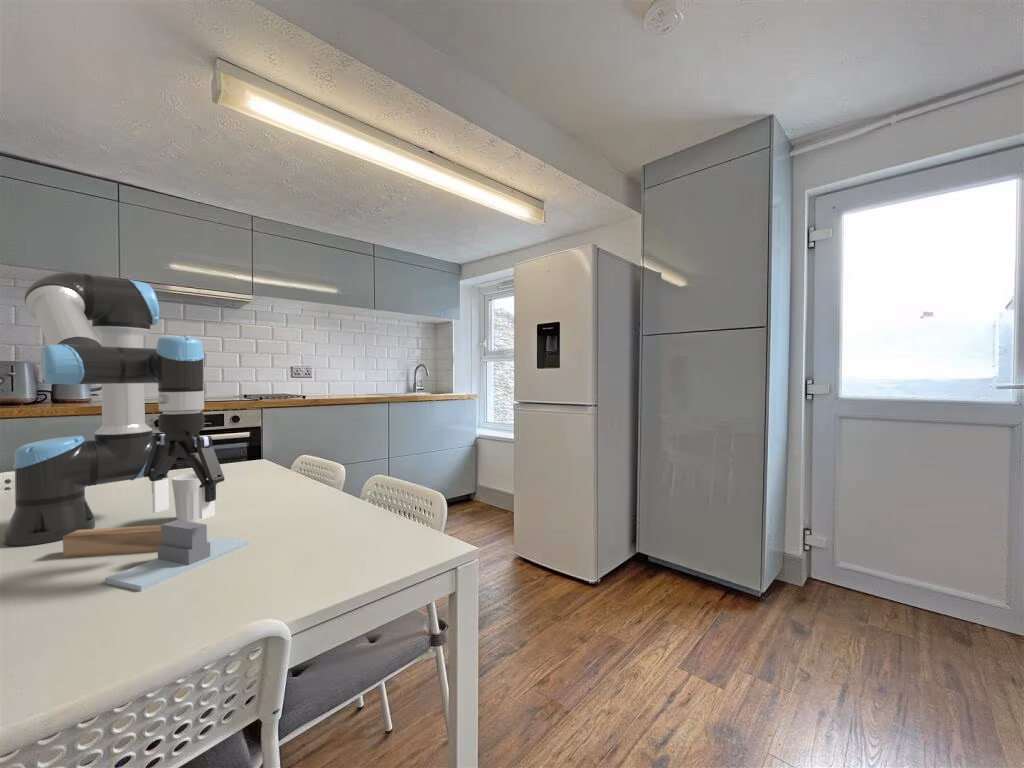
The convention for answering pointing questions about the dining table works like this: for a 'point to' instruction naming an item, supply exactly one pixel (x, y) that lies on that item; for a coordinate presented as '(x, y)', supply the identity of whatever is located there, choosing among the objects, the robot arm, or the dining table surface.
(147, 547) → the bar
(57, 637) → the dining table surface
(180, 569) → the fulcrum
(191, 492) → the cup
